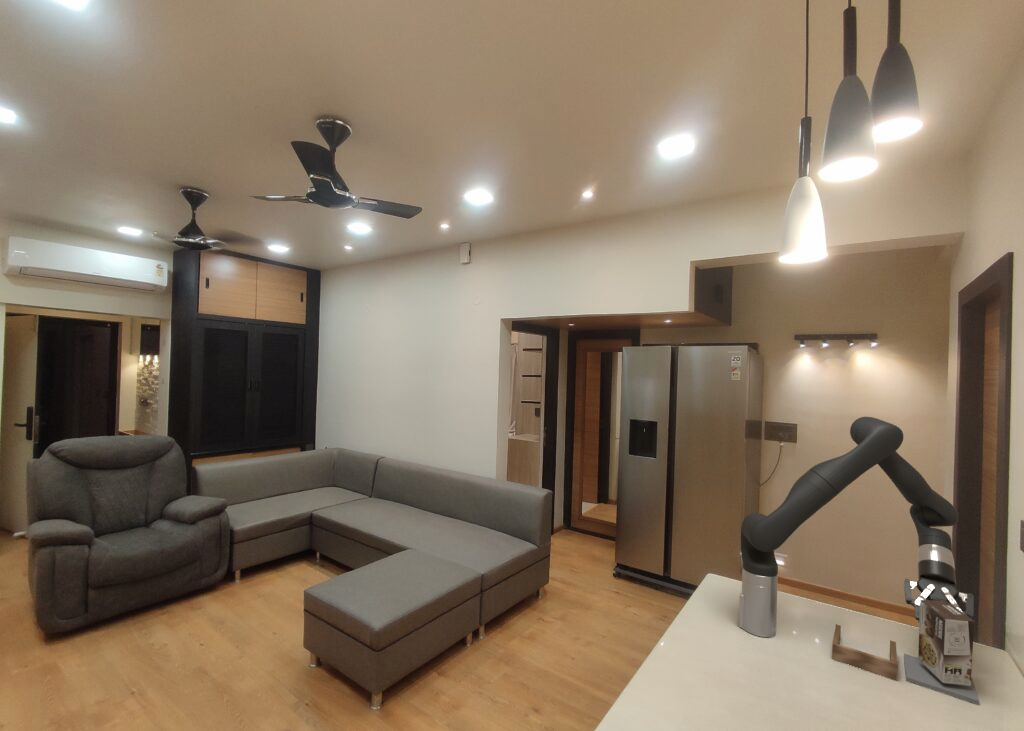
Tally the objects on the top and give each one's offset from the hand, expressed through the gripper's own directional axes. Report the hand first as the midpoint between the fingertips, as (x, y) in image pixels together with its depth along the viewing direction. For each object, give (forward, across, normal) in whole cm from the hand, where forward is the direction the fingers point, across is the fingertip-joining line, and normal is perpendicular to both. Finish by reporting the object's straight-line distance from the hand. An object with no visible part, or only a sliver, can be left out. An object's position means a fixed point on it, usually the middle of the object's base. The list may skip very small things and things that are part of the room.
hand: (939, 626), depth 120 cm
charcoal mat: (+10, 0, +8) cm, 13 cm away
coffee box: (+9, +1, +6) cm, 11 cm away
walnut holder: (+11, -15, +7) cm, 20 cm away
